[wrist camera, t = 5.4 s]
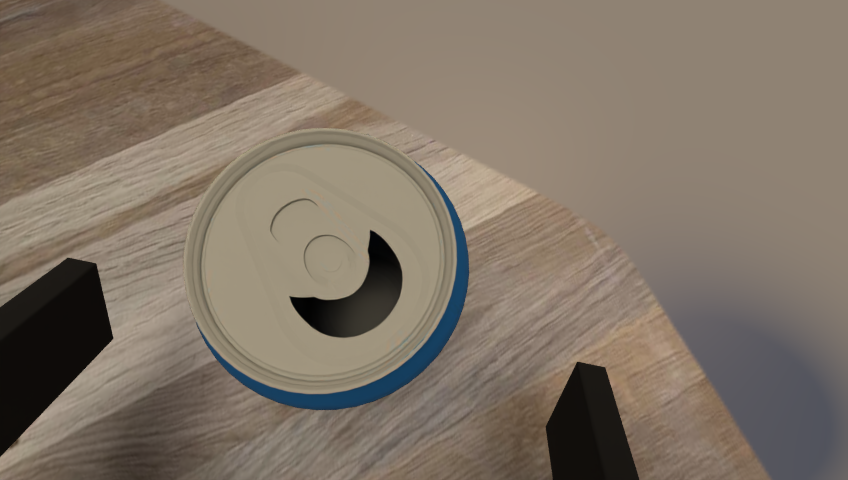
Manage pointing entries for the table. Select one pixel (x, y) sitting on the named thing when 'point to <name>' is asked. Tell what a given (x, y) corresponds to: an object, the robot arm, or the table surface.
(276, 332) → the beverage can
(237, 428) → the table surface
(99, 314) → the robot arm
